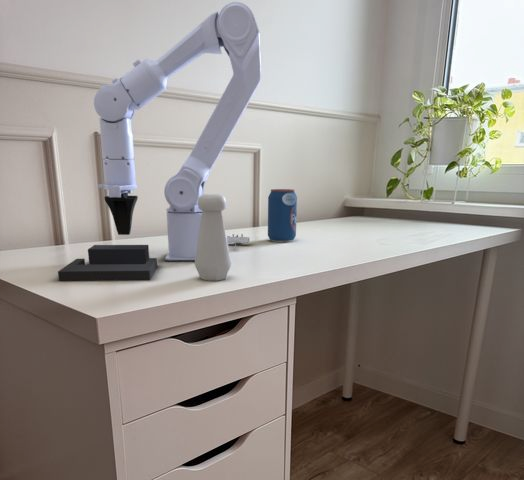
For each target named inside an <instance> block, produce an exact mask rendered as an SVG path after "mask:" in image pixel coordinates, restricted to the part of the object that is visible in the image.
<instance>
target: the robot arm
mask: <svg viewBox="0 0 524 480" xmlns="http://www.w3.org/2000/svg"><path fill="white" fill-rule="evenodd" d="M260 36H261V35H260V29H259V26H258V24H257V20H256V18H255V14H254V12H253V11H252V10H251V8H250V7H249V6H248V5H247V4H245V3H243V2H240V1H231V2H229V3H226V4H225V5H224V6H223V7H222V8H221V10H220V11H217V10H216V11H215V12H213V13H211V14H209V16H207V17H206V18H204V20H203V21H201V22H200V23H199V24H198V25H197V26H196V27H194V28H193V29H192V30H191V31H190V32H188V34H186V35H185V36H184V37H183V38H181V39H180V40H179V41H178V42H177V43H176V44H174V45H173V46H172V47H171V48H170V49H168V50H167V51H166V52H164V54H163V55H161V56H160V57H159V58H158V59H156V60H154V59H149V58H145V59H143V60H142V61H141V60H140V59H136V60H135V61H134V62H133V63H132V66H133V67H132V68H131V69H130V70H129V71H128V72H126V73H125V74H124V75H122V76H121V77H119V79H118V78H117V77H115V78H113V79H112V80H111V83H112V84H109V83H108V84H103V85H101V86H100V88H99V89H98V90H97V91H96V92H95V94H94V98H93V107H94V109H95V112H96V113H97V115H98V116H99V119H98V120H99V129H100V132H99V135H100V147H101V158H102V159H101V160H102V169H103V170H102V171H103V181H104V182H103V183H104V184H102V183H101V184H97V188H98V189H103V190H107V191H108V192H107V193H108V195H106V196H104V201H105V203H106V205H107V206H108V208H109V211H110V212H111V215H112V218H113V222H114V225H115V229H116V232H117V234H118V236H129V235H130V234H131V230H132V225H133V223H132V222H133V215H134V210H135V206H136V204H137V202H138V195H131V194H133V190H134V191H135V190H138V184H137V181H136V164H135V150H134V149H135V147H134V136H133V135H134V134H133V130H132V119H133V118H134V116H135V111H139V110H141V109H142V108H144V107H145V106H146V105H147V104H149V103H150V102H151V101H153V100H154V99H155V98H157V97H158V96H160V95H161V94H162V93H164V92H165V91H166V90H167V86H168V85H167V84H168V80H169V78H170V77H172V76H174V75H176V73H178V72H180V71H181V70H182V69H184V68H185V67H187V66H188V65H190V64H191V63H193V62H194V61H196V60H197V59H198V58H199V57H201V56H202V55H204V54H211V55H212V54H213V55H222V54H223V52H222V49H221V48H222V47H223V49H224V51H225V52H226V54H227V56H228V57H229V61H230V65H231V69H232V73H233V74H232V76H231V78H230V80H229V82H228V84H227V85H226V87H225V90H224V91H223V93H222V95H221V97H220V98H219V100H218V102H217V104H216V106H215V108H214V110H213V112H211V115H210V117H209V119H208V121H207V123H206V124H205V126H204V128H203V129H202V131H201V134H200V136H199V137H198V138H197V141H196V143H195V144H194V146H193V149H192V150H191V152H190V154H189V156H188V157H187V158H186V160H184V163H183V164H182V165H181V167H180V169H179V170H178V172H177V173H176V174H175V175H173V176H171V177H170V178H169V179H168V180H167V181H166V183H165V185H164V190H163V191H164V198H165V200H166V202H167V204H168V205H169V206H168V207H167V208H166V209H165V210H166V225H167V244H168V245H167V247H168V252H167V254H166V256H165V258H164V260H165V261H195V257H196V250H197V243H198V236H199V230H200V223H201V216H202V210H200V209H199V208H198V198H199V197H200V196H201V195H204V193H205V192H204V191H205V189H204V188H205V184H206V182H207V181H208V178H209V177H210V174H211V171H212V169H213V168H214V166H215V164H216V163H217V161H218V159H219V157H220V155H221V153H222V151H223V149H224V148H225V146H226V144H227V143H228V141H229V139H230V138H231V136H232V134H233V132H234V130H235V129H236V127H237V125H238V123H239V121H240V119H241V117H242V116H243V114H244V112H245V111H246V109H247V107H248V105H249V103H250V102H251V101H252V98H253V96H254V94H255V93H256V91H257V89H258V87H259V85H260V84H261V80H262V64H261V63H262V61H261V39H260Z"/></svg>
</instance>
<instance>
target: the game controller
mask: <svg viewBox="0 0 524 480" xmlns="http://www.w3.org/2000/svg"><path fill="white" fill-rule="evenodd" d="M240 235H241V236H239V234H236V235H235V234H234V233H232V236H230V235H226V238H227V243H228V244H229V243H233V244H234V246H233V248H236V246H237V244H241V243H243V244H250V241H251V239H250V237H249V236H244V234H243V233H241V234H240Z"/></svg>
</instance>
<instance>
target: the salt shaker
mask: <svg viewBox="0 0 524 480" xmlns="http://www.w3.org/2000/svg"><path fill="white" fill-rule="evenodd" d="M198 208H199V209H200V210H202V216H201V223H200V230H199V236H198V243H197V250H196V257H195V260H194V267H195V269H196V271H197V274H198V276H199V278H200V279H202V280H203V281H213V282H217V281H222V280H223V281H224V280H226V279H227V276H228V273H229V271H230V270H231V267H232V258H231V254H230V248H229V243H227V238H226V237H227V232H226V229H225V228H226V227H225V222H224V218H223V217H224V216H223V212H222V211H224V210H226V208H227V200H226V197H225V196H224V195H223V194H218V193H205V194H203V195H201V196H200V197H199V198H198Z"/></svg>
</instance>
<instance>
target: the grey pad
mask: <svg viewBox="0 0 524 480" xmlns="http://www.w3.org/2000/svg"><path fill="white" fill-rule="evenodd" d="M149 247H150V246H149V244H94V245H92V246H91V247H89V248H88V249H87V255H88V265H89V264H145V263H146V262H147V261H148V259H149V258H150V249H149Z"/></svg>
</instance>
